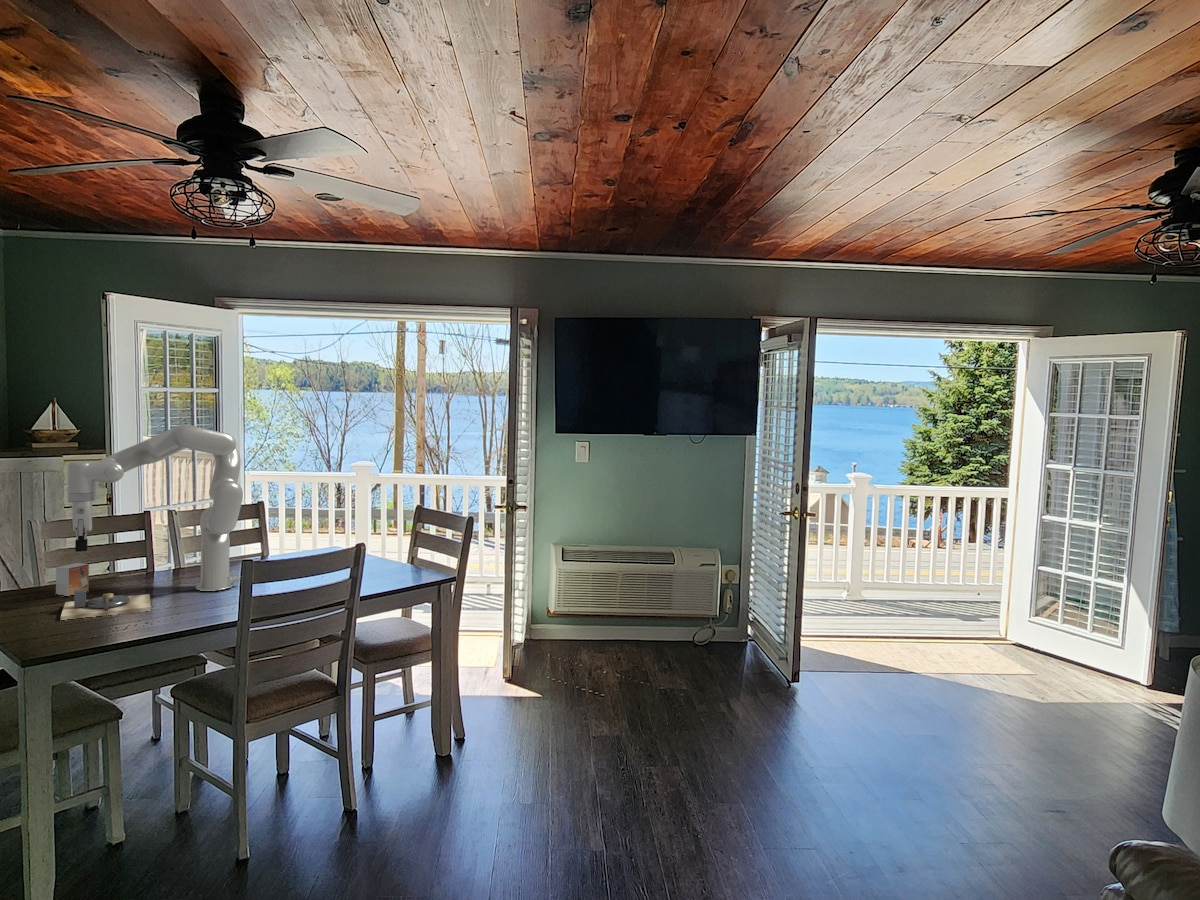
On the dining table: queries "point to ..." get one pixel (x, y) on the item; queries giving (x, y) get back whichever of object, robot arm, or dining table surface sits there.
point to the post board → (133, 606)
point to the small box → (72, 578)
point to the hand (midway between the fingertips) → (81, 550)
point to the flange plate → (97, 600)
